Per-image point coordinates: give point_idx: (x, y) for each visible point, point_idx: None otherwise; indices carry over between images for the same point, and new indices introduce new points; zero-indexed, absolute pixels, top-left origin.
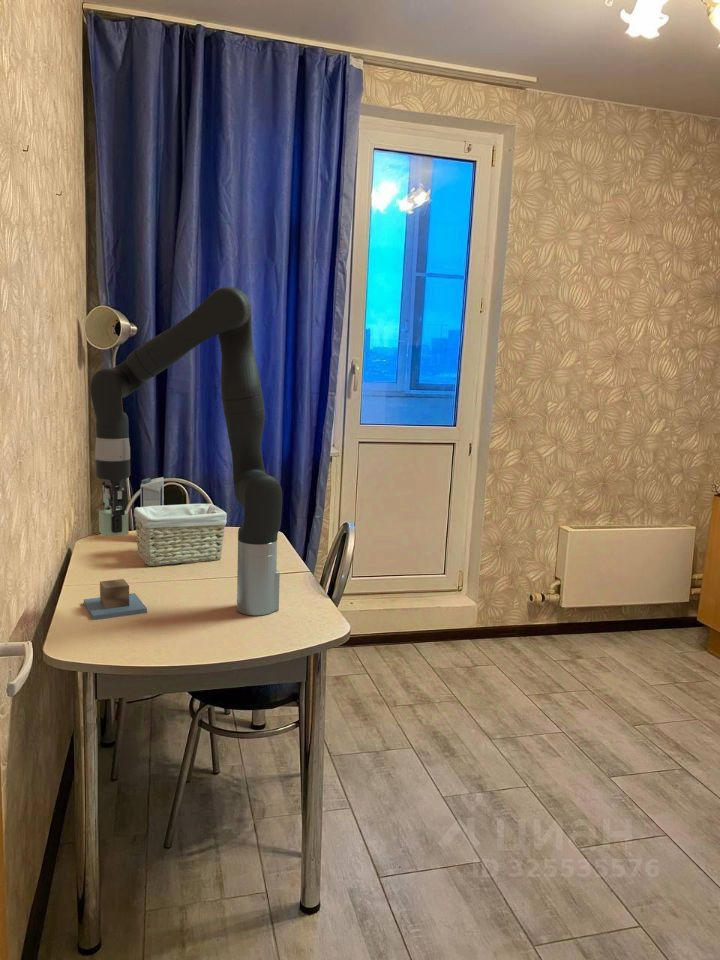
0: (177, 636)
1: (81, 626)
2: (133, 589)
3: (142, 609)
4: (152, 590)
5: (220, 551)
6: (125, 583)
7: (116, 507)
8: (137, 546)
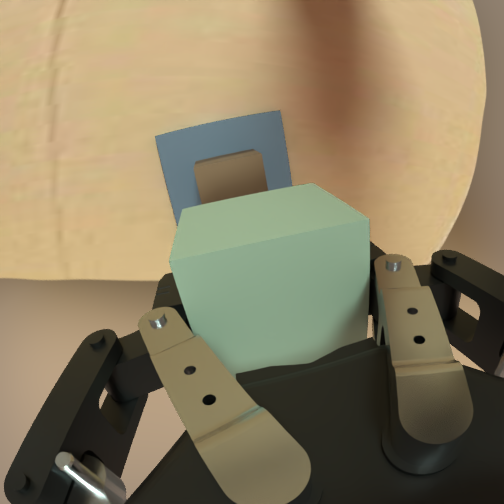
0: (412, 83)
1: None
2: (98, 142)
3: (281, 120)
4: (114, 96)
5: None
6: (240, 163)
7: (164, 314)
8: None
